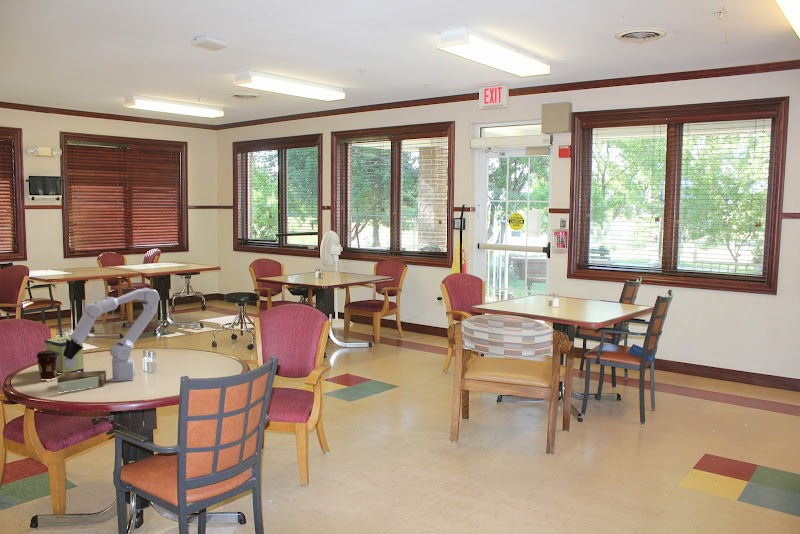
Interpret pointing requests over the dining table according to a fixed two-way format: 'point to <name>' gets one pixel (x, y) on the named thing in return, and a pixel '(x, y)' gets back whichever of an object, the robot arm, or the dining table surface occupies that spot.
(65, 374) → the walnut box
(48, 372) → the coffee cup
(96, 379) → the pale green bar
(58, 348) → the protein box
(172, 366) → the dining table surface
